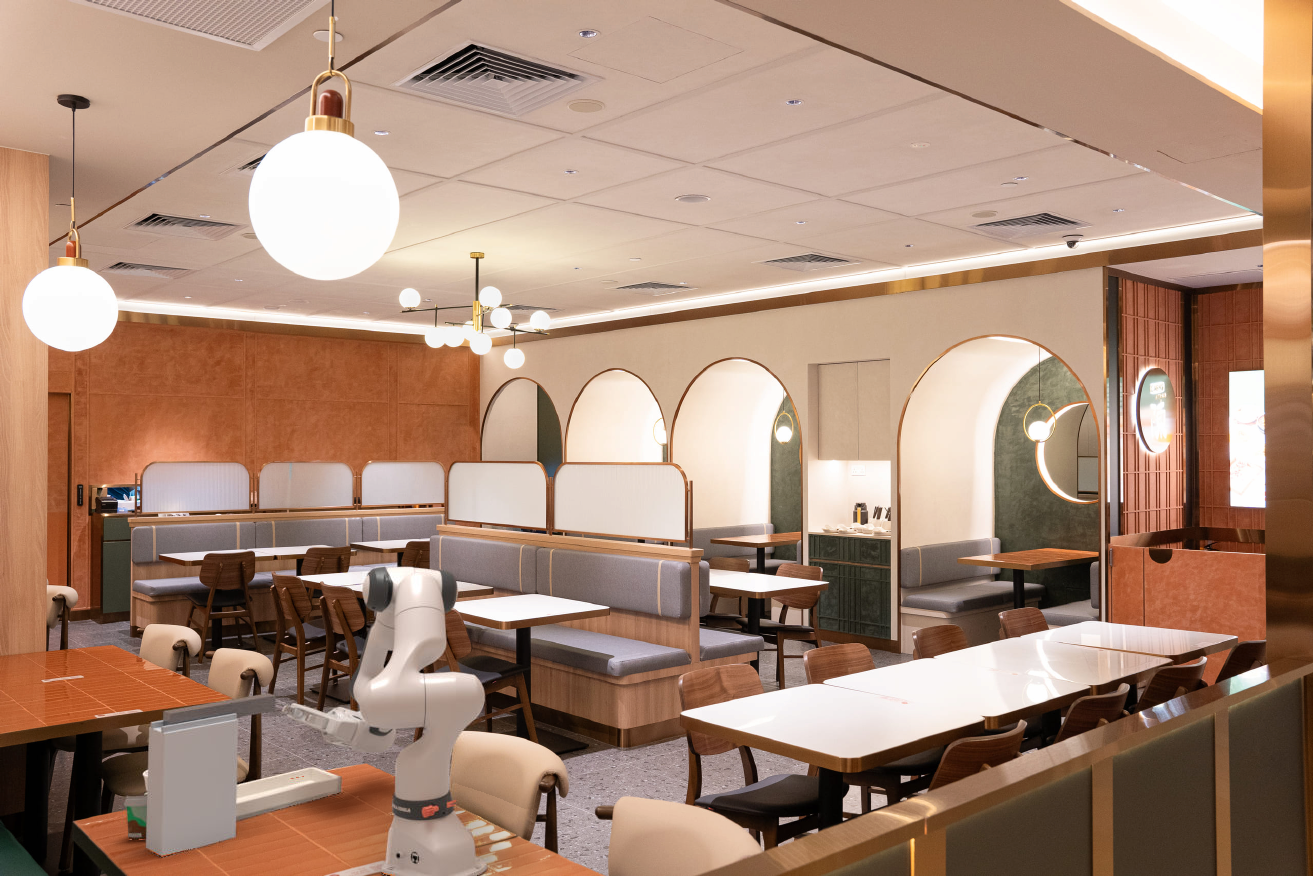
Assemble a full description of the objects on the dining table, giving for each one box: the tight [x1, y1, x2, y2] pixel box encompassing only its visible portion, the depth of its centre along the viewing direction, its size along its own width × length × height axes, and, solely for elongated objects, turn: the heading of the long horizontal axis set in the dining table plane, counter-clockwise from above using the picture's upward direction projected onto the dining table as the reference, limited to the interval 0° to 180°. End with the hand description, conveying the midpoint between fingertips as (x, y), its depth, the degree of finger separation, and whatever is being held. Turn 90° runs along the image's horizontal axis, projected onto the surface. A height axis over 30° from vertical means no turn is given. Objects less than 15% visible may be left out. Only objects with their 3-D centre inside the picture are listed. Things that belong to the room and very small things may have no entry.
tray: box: [236, 766, 343, 822], centre depth 242 cm, size 14×31×4 cm, turn 139°
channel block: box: [145, 713, 239, 856], centre depth 215 cm, size 8×16×27 cm, turn 139°
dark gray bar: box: [162, 692, 277, 726], centre depth 220 cm, size 4×24×4 cm, turn 139°
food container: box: [123, 790, 147, 840], centre depth 219 cm, size 12×6×10 cm, turn 161°
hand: (295, 713), depth 233 cm, fingers open, 8 cm apart
